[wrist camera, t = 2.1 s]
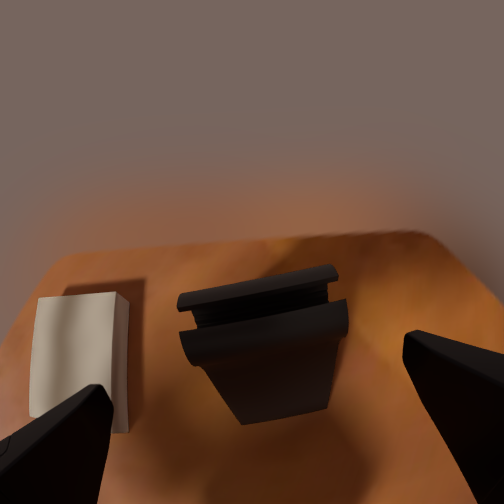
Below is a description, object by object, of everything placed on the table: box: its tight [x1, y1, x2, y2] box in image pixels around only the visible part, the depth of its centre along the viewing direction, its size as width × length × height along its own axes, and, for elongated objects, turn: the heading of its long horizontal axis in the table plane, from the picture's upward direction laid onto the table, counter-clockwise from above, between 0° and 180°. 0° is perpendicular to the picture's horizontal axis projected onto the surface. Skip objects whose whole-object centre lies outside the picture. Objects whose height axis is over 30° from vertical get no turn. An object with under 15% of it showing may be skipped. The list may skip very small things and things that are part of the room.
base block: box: [29, 292, 130, 433], centre depth 20 cm, size 9×11×2 cm
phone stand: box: [177, 264, 349, 425], centre depth 16 cm, size 9×6×12 cm, turn 10°
